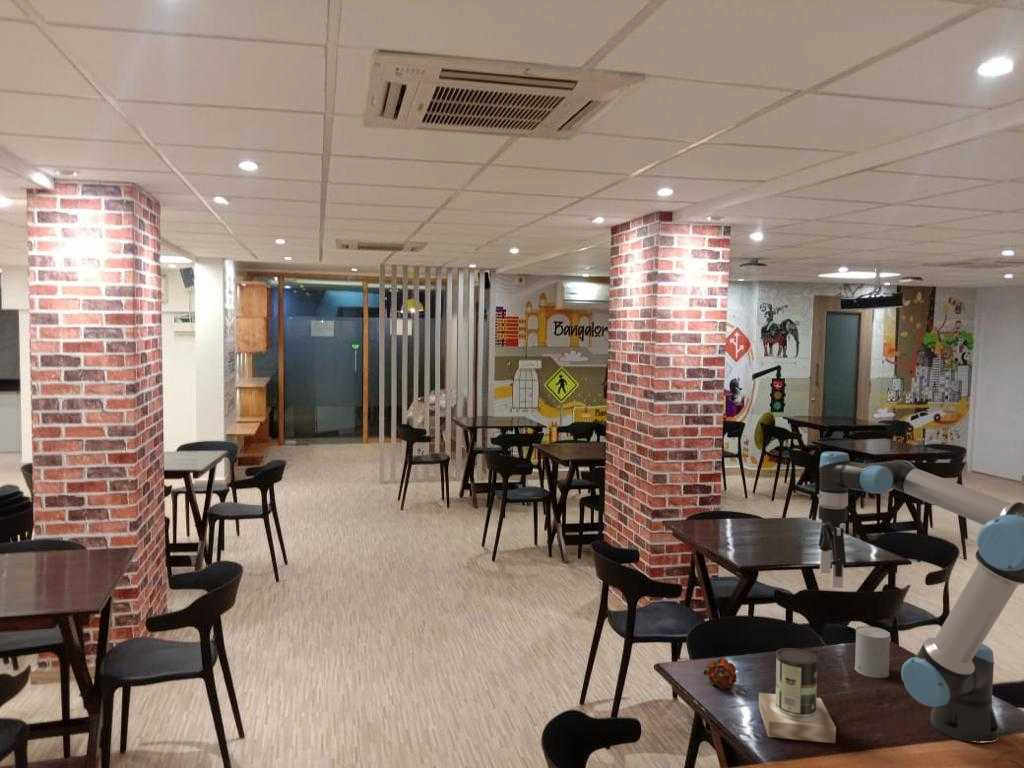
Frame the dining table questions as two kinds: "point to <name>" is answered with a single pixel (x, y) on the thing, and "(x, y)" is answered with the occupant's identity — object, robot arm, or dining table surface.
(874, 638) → the white cylinder
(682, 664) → the dining table surface
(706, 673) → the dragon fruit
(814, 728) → the stand
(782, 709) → the coffee can
